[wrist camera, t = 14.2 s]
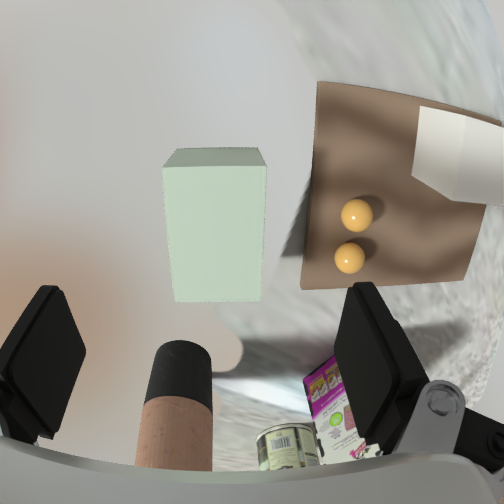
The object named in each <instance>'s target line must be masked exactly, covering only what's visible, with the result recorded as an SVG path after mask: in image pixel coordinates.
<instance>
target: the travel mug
mask: <svg viewBox="0 0 504 504" xmlns="http://www.w3.org/2000/svg"><path fill="white" fill-rule="evenodd" d="M212 408H213V407H212V369H211V358H210V355H209V354H208V352H207V351H206V350H205V349H204V348H203V347H201V346H200V345H198V344H195V343H193V342H190V341H184V340H175V341H170V342H167V343H165V344H163V345H162V346H161V347H160V348H159V349H158V350H157V353H156V355H155V359H154V363H153V367H152V371H151V375H150V380H149V384H148V389H147V393H146V398H145V401H144V407H143V412H142V418H141V424H140V431H139V438H138V444H137V452H136V459H135V466H139V467H147V468H157V469H169V470H184V471H210V472H212V439H213V409H212Z"/></svg>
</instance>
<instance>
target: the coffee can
mask: <svg viewBox="0 0 504 504" xmlns="http://www.w3.org/2000/svg"><path fill="white" fill-rule="evenodd" d="M256 443H257V450H258V460H259V468H260V471H265V470H280V469H292V468H302V467H311V466H319V465H320V463H319V458H318V454H317V449H316V445H315V441H314V436H313V431H312V429H311V428H310V427H308V426H306V425H302V424H284V425H279V426H275V427H272V428H269V429H267V430H265V431H263V432H262V433H260V434H259V435H258V436H257V438H256Z"/></svg>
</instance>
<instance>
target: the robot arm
mask: <svg viewBox="0 0 504 504" xmlns="http://www.w3.org/2000/svg"><path fill="white" fill-rule="evenodd" d="M85 355H86V348H85V345H84V343H83V340H82V338H81V336H80V333H79V331H78V329H77V326H76V324H75V321H74V319H73V316H72V313H71V311H70V308H69V306H68V303H67V300H66V298H65V295H64V293H63V291H62V290H60V289H59V287H58V286H54V285H53V286H52V285H51V286H50V285H43V286H41V287H40V288H39V290H38V291H37V292H36V294H35V295H34V297H33V298H32V300H31V301H30V303H29V304H28V306H27V307H26V309H25V310H24V312H23V313H22V315H21V316H20V318H19V320H18V321H17V323H16V324H15V326H14V327H13V329H12V330H11V332H10V334H9V335H8V337H7V339H6V340H5V342H4V344H3V345H2V347H1V349H0V504H504V424H501V423H499V422H497V421H495V420H492V419H490V418H488V417H485V416H483V415H481V414H479V413H477V412H475V411H472V410H470V409H468V408H466V407H465V398H464V395H463V393H462V392H461V390H460V389H459V388H458V387H457V386H456V385H454V384H452V383H451V382H449V381H445V380H434V381H431V382H430V381H429V379H428V377H427V375H426V373H425V371H424V369H423V367H422V365H421V363H420V361H419V359H418V357H417V355H416V353H415V351H414V349H413V348H412V346H411V344H410V342H409V340H408V338H407V336H406V335H405V333H404V331H403V329H402V327H401V326H400V324H399V323H398V321H397V320H395V319H394V318H393V316H392V315H391V313H390V311H389V309H388V307H387V306H386V304H385V302H384V300H383V299H382V297H381V295H380V293H379V292H378V290H377V288H376V287H375V285H374V283H373V282H371V281H368V282H355V283H354V284H353V287H349V288H348V290H347V294H346V299H345V303H344V308H343V312H342V316H341V321H340V325H339V329H338V333H337V337H336V341H335V345H334V355H335V359H336V362H337V365H338V368H339V372H340V375H341V378H342V381H343V385H344V388H345V391H346V395H347V398H348V401H349V405H350V408H351V412H352V415H353V418H354V422H355V425H356V429H357V432H358V435H359V437H360V438H364V439H365V443H366V446H369V445H374V444H378V446H379V449H380V450H381V451H382V452H381V453H380V455H379V456H377V457H371V458H365V459H359V460H354V461H348V462H341V463H334V464H327V465H319V466H311V467H302V468H292V469H280V470H265V471H239V472H210V471H184V470H169V469H157V468H147V467H139V466H131V465H124V464H117V463H110V462H104V461H99V460H93V459H88V458H83V457H79V456H74V455H70V454H65V453H61V452H57V451H53V450H49V449H46V448H41V447H39V444H38V442H37V438H38V435H39V436H40V437H43V438H47V439H51V440H53V437H54V434H55V433H56V432H58V430H59V428H60V425H61V422H62V419H63V416H64V413H65V410H66V407H67V404H68V401H69V399H70V396H71V393H72V390H73V387H74V385H75V382H76V379H77V376H78V374H79V371H80V368H81V366H82V363H83V361H84V358H85Z"/></svg>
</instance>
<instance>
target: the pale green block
mask: <svg viewBox="0 0 504 504" xmlns="http://www.w3.org/2000/svg"><path fill="white" fill-rule="evenodd" d="M266 171H267V166H266V164H265V162H264V160H263V158H262V156H261V154H260V152H259V150H258V148H184V149H176V151H175V152H174V153H173V154H172V156H171V157H170V158H169V159H168V161H167V162H166V163H165V164H164V166H163V167H162V179H163V193H164V207H165V218H166V230H167V240H168V250H169V259H170V268H171V276H172V284H173V292H174V299H175V302H240V301H261V285H262V264H263V242H264V220H265V197H266Z"/></svg>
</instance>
